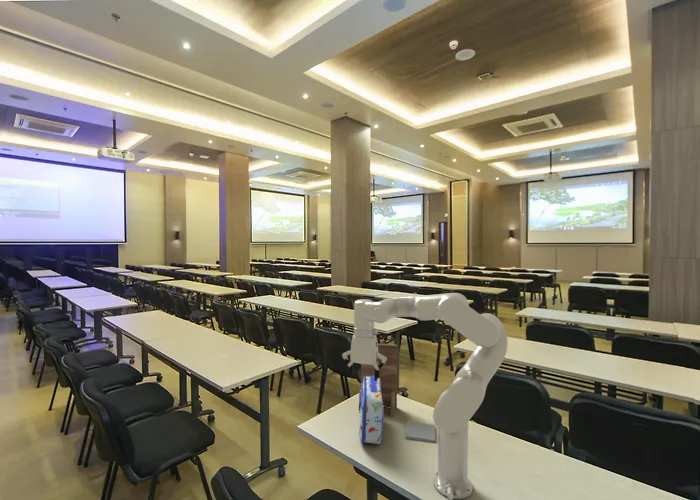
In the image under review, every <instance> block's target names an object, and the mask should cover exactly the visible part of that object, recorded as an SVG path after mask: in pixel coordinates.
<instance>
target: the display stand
mask: <svg viewBox="0 0 700 500" xmlns="http://www.w3.org/2000/svg"><path fill="white" fill-rule="evenodd" d="M377 344H378V353H380V354H381V355H383V356H385V357H386V358H387V360H386V362H385V364H384V365H383V366H382V367H381V368H380V377H379V378H380V382H381V395H382V401H383V406H386V407H391V408H390V417H394V416H393V415H395V411H396V409H395V408H397V409H398V344H391V343H378V342H377ZM377 362H378V363H379V364H380V363H381V362H382V360H381V359H380V358H378V361H377ZM370 376H375V367H374V366H373V365H369V364H360V387H361V386H362V384H363V378H364V377H370ZM361 383H362V384H361ZM358 395H359V396H358V397H359V399H358V400H359V402H361V388H360V389H359V393H358ZM359 402H358V403H359ZM386 407H385V408H386ZM394 410H395V411H394ZM359 411H360V410H359V409H358V412H359Z"/></svg>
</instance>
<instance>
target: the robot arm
mask: <svg viewBox="0 0 700 500" xmlns="http://www.w3.org/2000/svg"><path fill="white" fill-rule="evenodd" d="M353 304H354V305H353V306H354V307H353V313H354V314H353V317H354V319H353V323H354V324H353V335H352V339H351V343H350V350H347V351H345V352H343V353H342V354H341V357H342V358H343V361H344V363H345V364H346V366H347V368H348V375H349V378H350V379H352V378H353V376H354V375H355V365H354V363H355V364H360V365H361V364H369V365H373V366H374V367H375V381H377V380H378V378H379V377H380V368H381V367H382V366H383V365H384V364H385V362H386V360H387V358H386V357H385V356H383V355H381V354H380V353H378V344H377V343H378V338H377V336H376V335H378V334H379V331H378V330H376V328H375V323H378V324H383V323H386V322H388V321H390V320H391V319H394V318H410V317H411V318H416V319H417V320H419V321H433V320H443V321H444V322H445V323H446V324H448V325H449V326H450V327H451V328H453V329H454V330H456V331H457V332H458V333H459V334H460V335H462V336H463V337H464V338H465V339H467V340H469V341H470V342H471V343H473V344H475V346H476V347H475V349H474V351H473V352H472V353H471V355H470V357H469V358H468V360H467V361H466V362H465V363H464V365H463V366H461V368H460V369H459V371H457V373H456V375H455V376H454V379H453V381H452V383H451V384H450V386H449V387H448V388H447V389H446V390H444V391H443V392H442V393H441V394H440V395H439V398H438V400H437V402H436V404H435V406H434V410H433V413H432V418H433V422H434V425H435V427H436V428H437V429H438V430H437V432H438V433H437V434H438V435H437V446H438V447H437V472H436V473H435V474H434V475H433V478H432V482H433V487H434V488H435V489H436V491H438V493H440V494H441V495H443V496H445V497H447V498H448V500H462V499H463V500H464V499H467V498H468V497H470V496H471V495H472V494H473V483H472V481H471V480H470V479H469V477H468V474H469V473H468V471H469V468H468V465H469V463H468V462H469V461H468V460H469V458H468V457H469V455H468V454H469V453H468V452H469V421H470V420H471V418H472V417H473V416H474V415H475V413H476V412H477V410H478V409H479V408H480V407H481V405H482V403H483V401H484V399H485V395H486V390H487V387H488V384H489V383H490V381H491V379H492V378H493V376H494V375H495V374H496V373H497V371H498V369H499V368H500V366H501V364H502V363H503V361H504V359H505V358H506V357H505V356H506V355H507V350H508V344H509V343H508V334H507V331H506V329H505V326H504V324H503V323H502V321H501V320H500V319H499V318H498V317H497V316H496V315H494V314H492V313H488V312H484V313H479V312H477V311H476V310H475V309H474V308H473V307H472V308H471V307H470V305H469V304H470V303H469V301H468V299H467V297H466V296H465V295H463V294H462V293H461V292H460V293H459V292H449V293H447V292H445V293H439V294H427V295H415V296H400V297H389V298H385V299H383V300H379V301H376V302H375V301H373V300H371V299H365V298H364V299H363V298H362V299H356V300H355V301H354V303H353ZM348 356H349V357H350V358H349V357H348ZM378 358H380V359H381V360H382V362H381V363H380V364H379V363H378V362H377V361H378Z"/></svg>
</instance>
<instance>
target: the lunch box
mask: <svg viewBox="0 0 700 500" xmlns="http://www.w3.org/2000/svg"><path fill="white" fill-rule="evenodd" d="M361 384H362V383H361V382H360V389H361V402H358V411H359V410H360V412H359V430H358V431H359V432H358V436H359V441H360V443H361V444H365V443H366V444H375V445H381V443H382V441H383V433H384V419H385V418H384V407H383V401H382V395H381V382H380V378H378V380H377V381H375V376H370V377H364V378H363V384H362V386H361Z"/></svg>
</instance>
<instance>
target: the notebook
mask: <svg viewBox="0 0 700 500" xmlns="http://www.w3.org/2000/svg"><path fill="white" fill-rule="evenodd" d="M405 439H406V440H413V441H418V442H419V441H420V442H427V443H436V424H430V423H421V422H413V421H407V422H406V431H405Z"/></svg>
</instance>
